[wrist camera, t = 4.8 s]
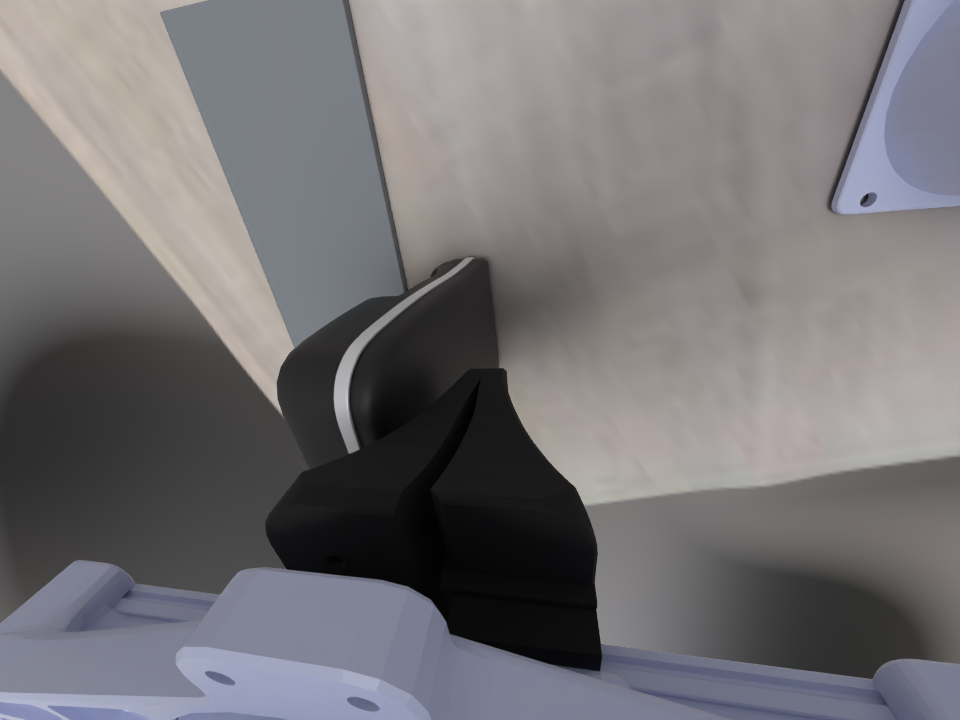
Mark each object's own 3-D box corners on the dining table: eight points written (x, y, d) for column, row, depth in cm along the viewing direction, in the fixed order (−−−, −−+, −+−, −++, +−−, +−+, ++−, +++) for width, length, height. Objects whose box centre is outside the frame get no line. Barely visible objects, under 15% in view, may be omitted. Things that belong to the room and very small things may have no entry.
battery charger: (419, 255, 18) (223, 362, 8) (489, 251, 17) (354, 368, 7) (442, 369, 21) (320, 539, 12) (501, 372, 20) (420, 562, 10)
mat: (342, -25, 13) (336, -31, 12) (430, 402, 22) (428, 407, 22) (171, 17, 14) (159, 12, 14) (322, 401, 24) (317, 406, 23)
